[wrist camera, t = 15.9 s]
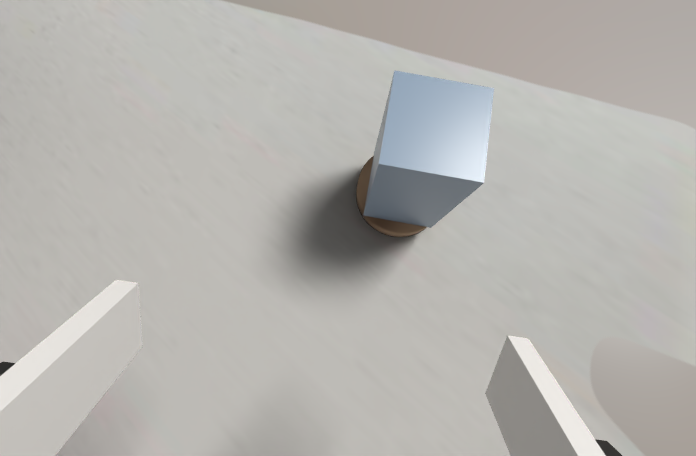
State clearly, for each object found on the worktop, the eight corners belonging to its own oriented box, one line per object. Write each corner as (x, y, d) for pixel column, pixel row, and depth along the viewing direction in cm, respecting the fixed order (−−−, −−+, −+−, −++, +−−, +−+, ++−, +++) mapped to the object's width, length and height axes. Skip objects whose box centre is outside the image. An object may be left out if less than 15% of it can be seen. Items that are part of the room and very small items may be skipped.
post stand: (338, 199, 35) (339, 168, 27) (392, 139, 36) (407, 94, 29) (405, 254, 34) (426, 238, 26) (457, 190, 36) (491, 158, 28)
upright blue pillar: (363, 215, 33) (378, 163, 21) (374, 152, 34) (394, 70, 22) (430, 227, 33) (483, 182, 21) (439, 164, 34) (493, 88, 22)
